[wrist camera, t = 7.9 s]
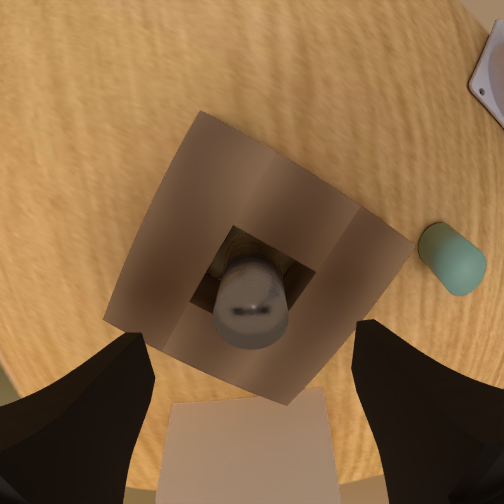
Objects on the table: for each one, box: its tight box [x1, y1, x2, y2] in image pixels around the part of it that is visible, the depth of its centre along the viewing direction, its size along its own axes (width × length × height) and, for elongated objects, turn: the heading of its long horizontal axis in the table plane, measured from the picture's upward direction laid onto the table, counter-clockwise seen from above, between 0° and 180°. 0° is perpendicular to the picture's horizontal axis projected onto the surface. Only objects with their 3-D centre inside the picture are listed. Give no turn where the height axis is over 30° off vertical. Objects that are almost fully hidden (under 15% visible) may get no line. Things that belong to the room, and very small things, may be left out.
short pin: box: [418, 223, 487, 296], centre depth 17 cm, size 3×3×4 cm
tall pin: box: [213, 234, 289, 350], centre depth 16 cm, size 3×3×7 cm
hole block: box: [103, 110, 416, 406], centre depth 17 cm, size 12×12×4 cm
